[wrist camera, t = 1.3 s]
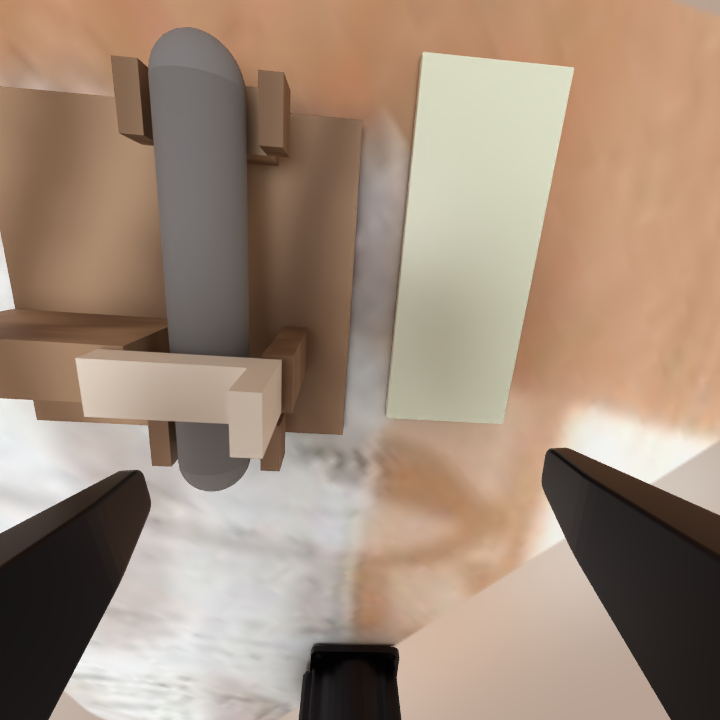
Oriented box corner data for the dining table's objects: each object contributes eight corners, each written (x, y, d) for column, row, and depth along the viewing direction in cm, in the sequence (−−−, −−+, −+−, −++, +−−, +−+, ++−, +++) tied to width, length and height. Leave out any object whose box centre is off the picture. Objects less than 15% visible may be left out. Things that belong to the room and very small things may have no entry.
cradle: (362, 122, 18) (370, 54, 12) (342, 429, 22) (340, 499, 16) (-8, 87, 17) (-215, -6, 11) (51, 415, 22) (-69, 482, 15)
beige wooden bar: (281, 359, 14) (262, 392, 11) (281, 412, 15) (262, 458, 12) (97, 348, 14) (20, 380, 11) (105, 403, 14) (34, 448, 11)
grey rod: (254, 60, 14) (229, 9, 11) (257, 467, 20) (241, 507, 17) (170, 51, 14) (122, -2, 11) (196, 464, 19) (168, 505, 16)
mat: (566, 73, 17) (574, 67, 17) (498, 419, 23) (502, 424, 22) (420, 58, 17) (422, 51, 17) (385, 413, 22) (386, 418, 22)
